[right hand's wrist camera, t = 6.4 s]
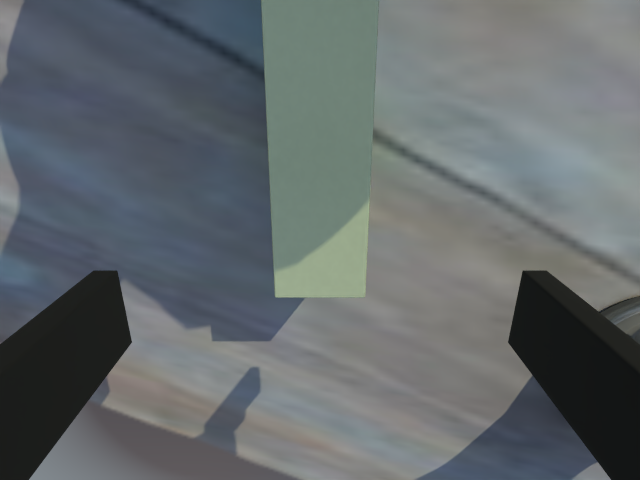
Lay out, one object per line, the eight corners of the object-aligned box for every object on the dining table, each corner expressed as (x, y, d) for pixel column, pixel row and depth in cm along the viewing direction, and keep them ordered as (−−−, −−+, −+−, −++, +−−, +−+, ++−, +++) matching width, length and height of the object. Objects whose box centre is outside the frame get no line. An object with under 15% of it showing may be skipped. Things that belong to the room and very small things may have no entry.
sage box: (352, 240, 30) (365, 298, 22) (287, 240, 30) (274, 298, 22) (370, -328, 19) (409, -653, 11) (269, -328, 19) (230, -653, 11)
